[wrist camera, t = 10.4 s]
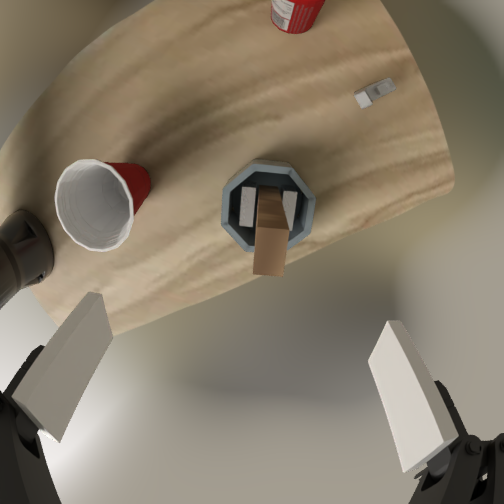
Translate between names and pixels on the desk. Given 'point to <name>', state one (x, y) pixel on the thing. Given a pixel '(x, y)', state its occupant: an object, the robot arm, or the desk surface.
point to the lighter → (374, 92)
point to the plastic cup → (100, 201)
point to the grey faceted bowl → (231, 198)
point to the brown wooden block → (270, 233)
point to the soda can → (295, 14)
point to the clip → (248, 203)
